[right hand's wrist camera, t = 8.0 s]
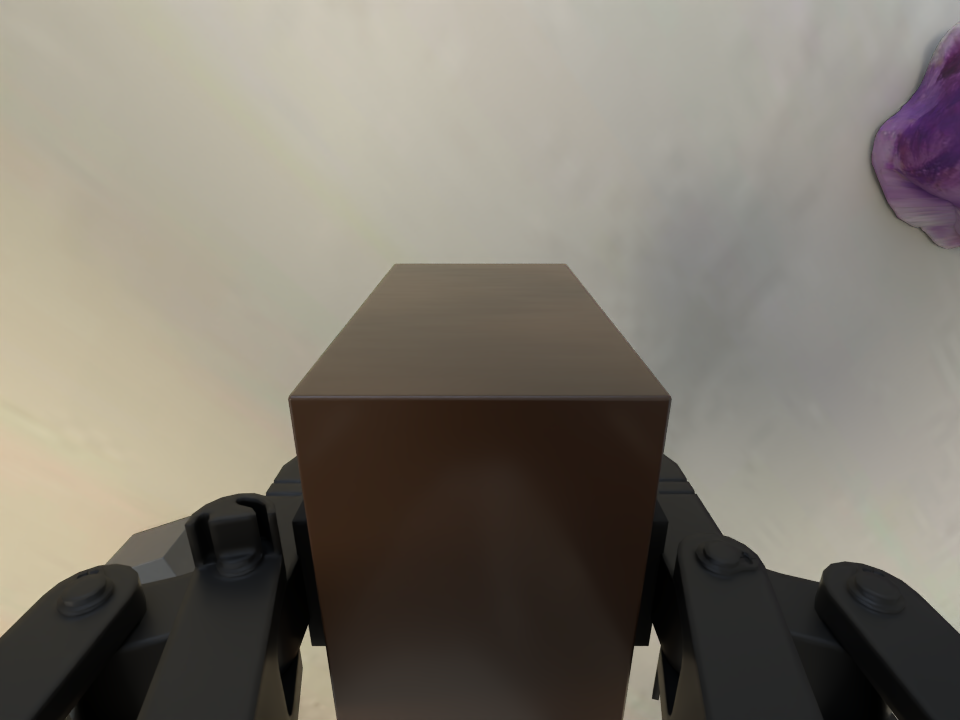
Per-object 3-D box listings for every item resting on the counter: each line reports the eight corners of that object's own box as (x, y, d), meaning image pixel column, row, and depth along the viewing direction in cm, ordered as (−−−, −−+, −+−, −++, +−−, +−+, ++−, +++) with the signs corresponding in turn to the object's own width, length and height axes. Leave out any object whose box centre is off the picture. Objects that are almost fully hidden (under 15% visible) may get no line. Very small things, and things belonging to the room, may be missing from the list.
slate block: (173, 589, 36) (137, 638, 32) (132, 534, 34) (89, 580, 31) (236, 569, 35) (207, 618, 32) (197, 513, 34) (162, 557, 30)
